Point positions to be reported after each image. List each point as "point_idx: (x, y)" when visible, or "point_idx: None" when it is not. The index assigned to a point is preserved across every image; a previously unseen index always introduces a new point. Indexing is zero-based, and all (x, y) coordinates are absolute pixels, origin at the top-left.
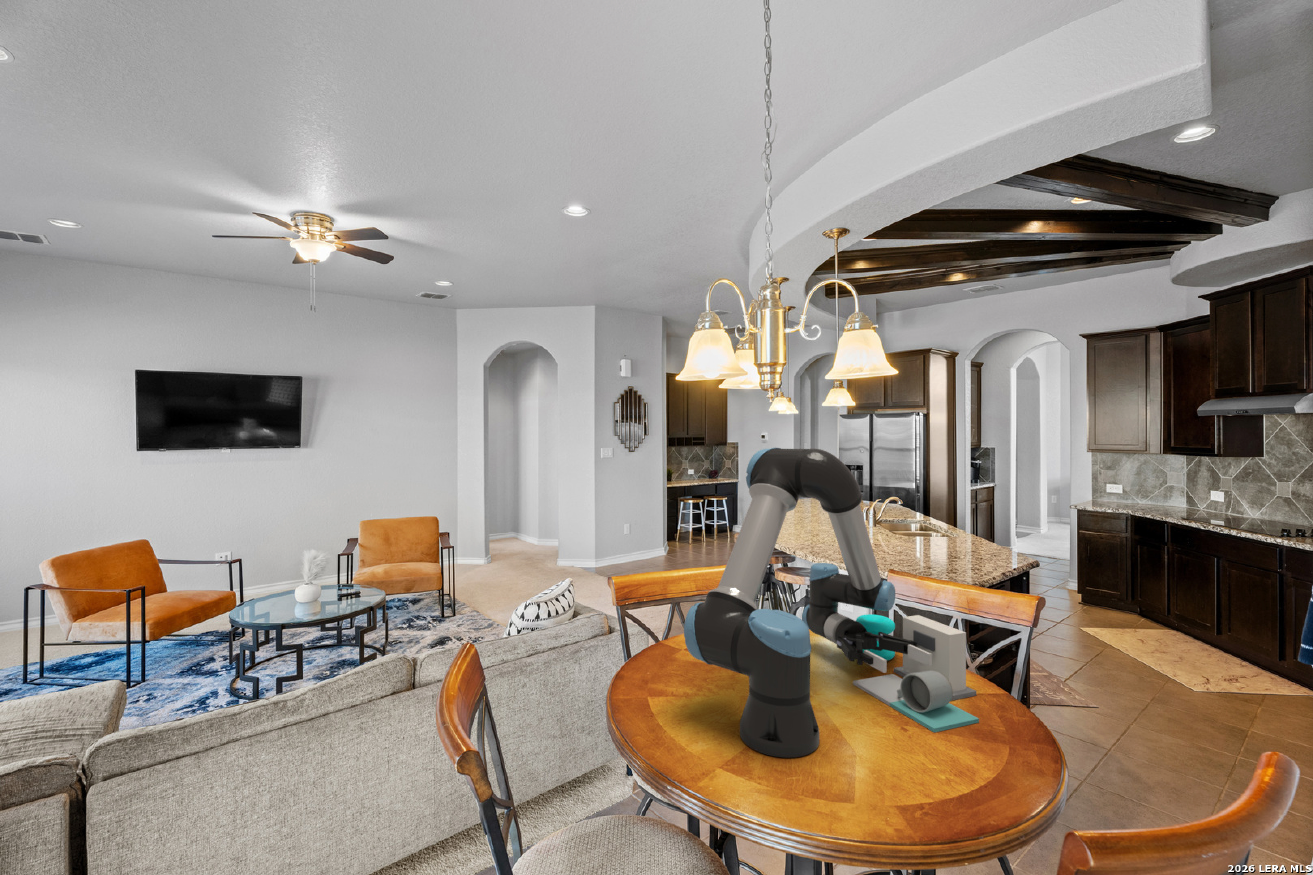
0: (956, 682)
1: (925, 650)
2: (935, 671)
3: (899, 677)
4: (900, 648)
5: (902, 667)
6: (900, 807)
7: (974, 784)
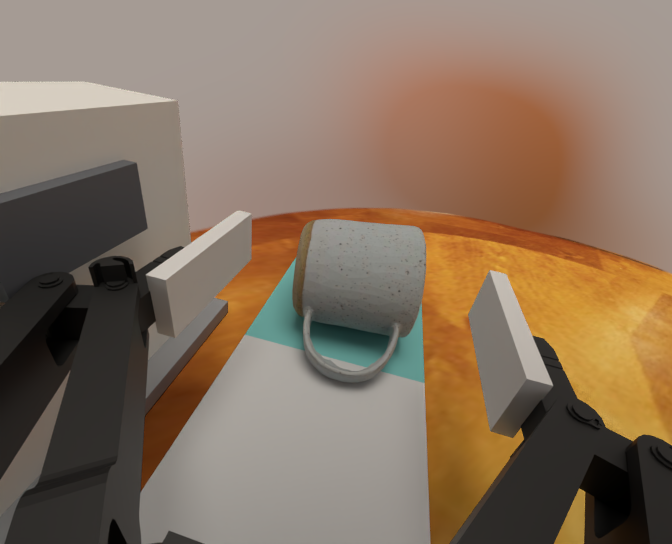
0: None
1: (88, 272)
2: (321, 225)
3: (141, 493)
4: (140, 356)
5: None
6: (596, 267)
7: (471, 240)
